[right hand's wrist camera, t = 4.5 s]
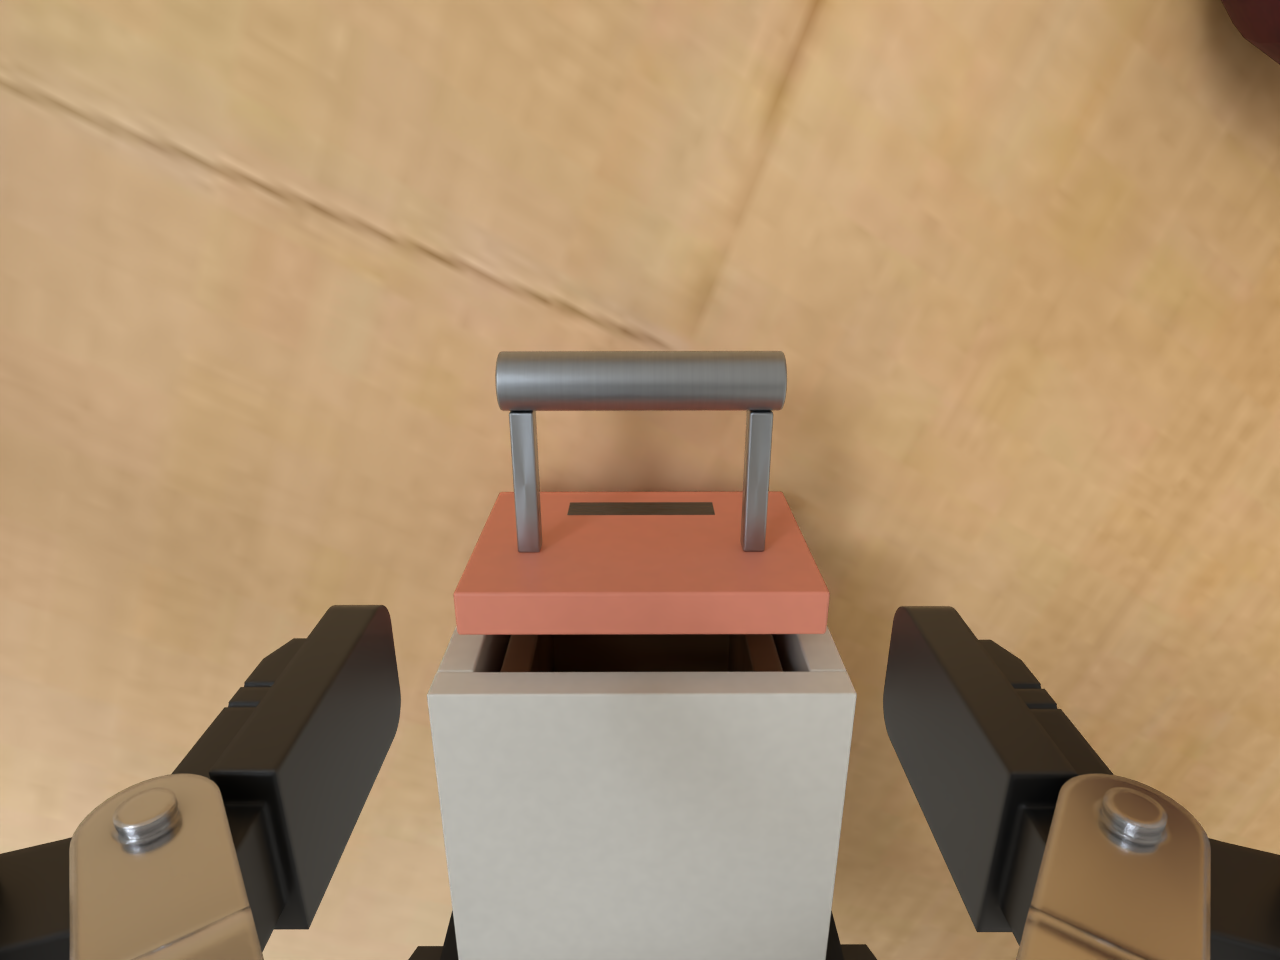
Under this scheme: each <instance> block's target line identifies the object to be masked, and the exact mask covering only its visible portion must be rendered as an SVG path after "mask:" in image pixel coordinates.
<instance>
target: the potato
mask: <svg viewBox="0 0 1280 960" xmlns="http://www.w3.org/2000/svg"><path fill="white" fill-rule="evenodd" d="M1221 1H1222V3H1223V5H1224V7H1225V9H1226V11H1227V13H1228V14H1229V16H1230V18H1231V20H1232V22H1233V24H1234V25H1235V26H1236V28H1237V29H1238V30H1239V32H1240V33H1241V34H1242V36H1243V37H1244V38H1245V39H1247V40H1248V41H1249V42H1251V43H1252V44H1253V45H1255V46H1256V47H1257V48H1259V49H1260V50H1261V51H1263V52H1264V53H1265V54H1267V55H1268V56H1269V57H1271V58H1272V59H1273V60H1275V61H1276V62H1277V63H1279V64H1280V0H1221Z"/></svg>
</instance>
